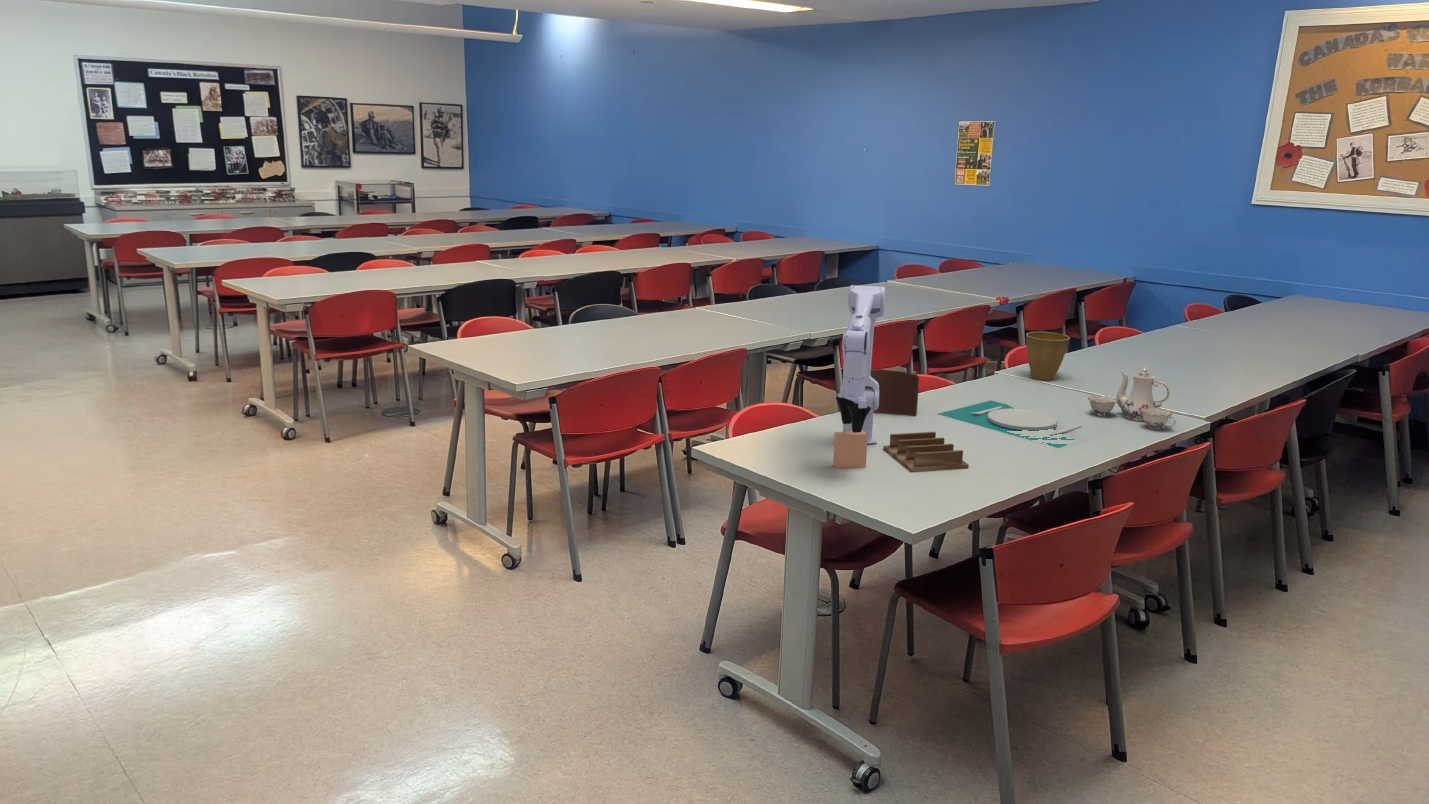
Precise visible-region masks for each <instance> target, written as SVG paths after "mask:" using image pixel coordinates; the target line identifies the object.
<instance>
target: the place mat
mask: <svg viewBox="0 0 1429 804" xmlns="http://www.w3.org/2000/svg"><path fill="white" fill-rule="evenodd" d="M938 415H940V416H943V417H946V418H951V419H954V420H958V421H962V422H964V423H968V424H971V425H975V426H977V427H978V426H979V427H982V428H985V429H989V430H993V431H997V432H999V433H1004V434H1007V435H1009V436H1010V435H1011V436H1015V437H1018V438H1022V439H1025V440H1029V441H1032V440H1038V439H1041V438H1028V437H1030V436H1019V435H1021V434H1014V433H1010V432H1007V431H1022V430H1028V431H1039V430H1048V429H1052V428H1054V429H1055V428H1056V427H1057V425H1058V419H1057V418H1056V417H1055V416H1052V415H1050V414H1048V413H1045V412H1042V411H1037V410H1031V409H1023V408H1015V407H1013V406H1011V405H1009V404H1006V403H1003V402H999V401H996V400H987V401H983V402H979V403H975V404H970V405H967V406H963V407H959V408H955V409H951V410H947V411H943V412H939V413H938ZM1080 427H1081V428H1083V427H1082V425H1080V424H1078V425H1072V426H1068V427H1065V428H1060V429H1059V430H1057V431H1056V432H1053V433H1051V434H1049V436H1053V435H1057V434H1061V433H1063V434H1065V433H1068V432H1072V431H1075V430H1078V429H1081V428H1080ZM1024 437H1025V438H1024ZM1034 437H1035V436H1034ZM1047 438H1050V437H1043V438H1042V440H1057V439H1058V438H1051V439H1047ZM1066 438H1067V437H1061V438H1059V439H1061V440H1076V439H1075V438H1073V439H1066ZM1042 443H1044V442H1042ZM1042 443H1041V444H1042ZM1046 444H1048V445H1047V446H1050V447H1053V448H1058V449H1060V448H1063V447H1065V446H1068V445H1067V444H1051V443H1046ZM1046 444H1045V445H1046Z"/></svg>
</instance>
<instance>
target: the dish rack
mask: <svg viewBox="0 0 1429 804" xmlns="http://www.w3.org/2000/svg"><path fill="white" fill-rule="evenodd" d="M889 435H890V436H889V445H883V446H882V447H883V448H882V449H883V450H884V451H885V452H886V453H887V454H889V455H890V456H891V457H892V458H894V459H895V460H896V461H897V462H898V463H899V464H900V465H902V466H903V467H904V468H905V469H906V470H908V471H909V472H911V473H914V472H917V473H918V472H929V471H931V472H933V471H944V470H960V469H961V470H962V469H969V468H970V467H969V466H970V465H969V464H968V463H967V462H966V461H964V460H963V459H964V458H963V456H964V455H963V454H964V450H962V449H958V450H954V445H955V444H953V443H945V441H946V440H945V438H944V437H936V435H937V432H936V431H922V432H920V431H919V432H905V433H902V432H901V433H890V434H889Z"/></svg>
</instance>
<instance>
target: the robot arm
mask: <svg viewBox="0 0 1429 804" xmlns="http://www.w3.org/2000/svg"><path fill="white" fill-rule="evenodd" d="M886 292H887V291H886V288H885V286H871V285H854V284H851V285H850V286H849V288H848V294H847V305H848V308H849V312H850V315H851V316H850V318H849V320H848V325H847V329H846V332H845V331H844V332H843V334H842V339H841V340H842V341H841V343H842V344H841V348H842V360H843V365H842V366H843V367H842V368H843V369H842V386H840V387H839V392H838V393H837V396H836V397H835V400H836V402H837V404H838V405H837V406H838V407H839V411H840V412H839V413H840V417H841V423H842V425H843V427H842V432H848V431H853V433H857V432H861V431H865V432H866V433H867V434H868V438H867V445H871V444H872V445H873V444H877V443H878V441H877V440H875V439H874V438H873V427H874V426H873V424H874V413H873V412H874V411H876V410H877V409H878V406H879V384H878V382H877V381H876V380H874V379H873V378H872V377H871V376H870V374H871V370H872V358H873V345H874V344H873V343H874V334H875V333H874V332H875V331H874V330H875V324H876V321H877V319H878V318H880V317H883V316H884V313H885V305H886V296H887V295H886ZM865 386H870V387H872V388H873V389H872V388H865Z"/></svg>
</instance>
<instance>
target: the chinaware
mask: <svg viewBox="0 0 1429 804" xmlns="http://www.w3.org/2000/svg"><path fill="white" fill-rule="evenodd" d="M1121 374H1122V381H1121V383H1120V386H1119V387H1118V389H1117V393H1116V395H1115V396H1116V398H1115V399H1114V398H1113V397H1112V396H1108V395H1107V396H1106V395H1105V396H1100V395H1098V394H1097V395H1096V394H1094V395H1091V396H1088V397H1087V399H1088V401H1089V404H1090V407H1091V409H1092V410H1093V411H1094V412H1095V413H1097V414H1100V415H1104V414H1106V415H1107V414H1108V413H1110V412H1111V411H1112V410H1113V409H1114V407H1115V405H1116V404H1117V405H1118V407H1119V408H1120V409H1121V412H1122V413H1123V414H1124V415H1123V417H1124V418H1125V419H1127V420H1131V421H1133V422H1134V421H1136V422H1144V423H1145V424H1146V425H1148V426H1147V429H1151V430H1160V429H1165V428H1166V427H1168V428H1172V427H1174V426H1175V425H1176V419H1175V418H1174V416H1173V413H1172V412H1171V410H1169V409H1160V408H1162V403H1163V402H1165V401H1167V399H1169V397H1170V393H1171V391H1170V388H1169V386H1168V385H1167V384H1166V383H1165V382H1163V381H1159V380H1155V379H1156V376H1154V375H1151V373H1150V371H1148V368H1147V367H1143V369H1142V370H1141V371H1139V372H1137V373H1133V374H1132V377H1133V378H1132V379H1133V384H1132V389H1131V392H1130V394H1129V396H1128V395H1126V392H1127V391H1126V390H1127V386H1128V384H1129V376H1128V374H1127V373H1126V371H1125V372H1124V371H1122V372H1121ZM1159 384H1161V385H1163V386H1164V387H1165V388H1166V391H1167V393H1166V396H1165V397H1164V398H1163V399H1161V400H1154V396H1153V387H1155V388H1157V387H1158V386H1159ZM1171 419H1172V420H1173V424H1172V425H1168V424H1166V423H1167V422H1168V421H1169V420H1171Z"/></svg>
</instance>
